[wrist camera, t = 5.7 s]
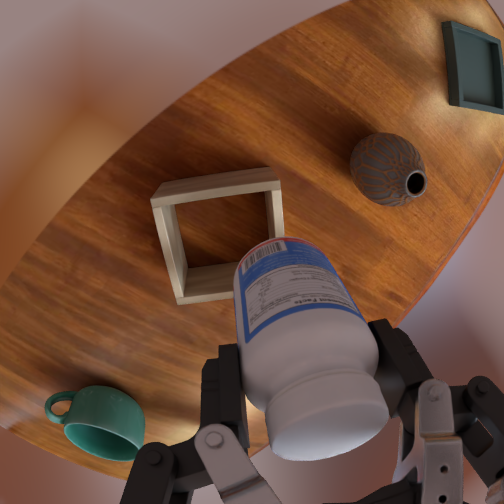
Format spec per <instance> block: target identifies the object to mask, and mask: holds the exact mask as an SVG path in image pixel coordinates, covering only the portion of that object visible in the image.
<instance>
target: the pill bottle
mask: <svg viewBox="0 0 504 504" xmlns="http://www.w3.org/2000/svg"><path fill="white" fill-rule="evenodd" d="M233 292H234V305H235V316H236V328H237V341H238V350H239V364H240V375H241V383H242V388H243V391H244V393H245V395H246V396H247V398H248V400H249V401H250V402H251V403H252V404H253V405H254V406H255V407H256V408H258V409H259V410H261V411H262V412H264V413H265V422H266V426H267V431H268V437H269V442H270V447H271V449H272V451H273V452H274V453H275V454H276V455H277V456H279V457H282V458H284V459H289V460H295V461H311V460H319V459H324V458H328V457H332V456H336V455H339V454H342V453H345V452H347V451H350V450H352V449H354V448H356V447H358V446H360V445H362V444H364V443H365V442H366V441H368V440H370V439H371V438H372V437H374V436H375V435H376V434H377V433H378V432H379V431H381V429H382V428H383V427H384V425H385V424H386V422H387V420H388V417H389V411H388V407H387V405H386V402H385V400H384V398H383V395H382V393H381V390H380V386H379V384H378V383H377V382H376V381H375V380H374V379H373V377H374V375H375V373H376V370H377V366H378V362H379V351H378V346H377V343H376V340H375V338H374V336H373V334H372V332H371V330H370V328H369V327H368V325H367V323H366V321H365V320H364V318H363V316H362V315H361V313H360V311H359V309H358V308H357V306H356V304H355V303H354V301H353V299H352V298H351V296H350V294H349V293H348V291H347V289H346V288H345V286H344V285H343V283H342V281H341V280H340V278H339V276H338V275H337V273H336V271H335V270H334V268H333V266H332V265H331V263H330V262H329V260H328V258H327V257H326V256H325V254H324V253H323V252H322V251H321V250H320V249H319V248H318V247H317V246H315V245H314V244H312V243H311V242H309V241H306V240H304V239H301V238H297V237H277V238H273V239H269V240H267V241H264V242H262V243H260V244H258V245H257V246H255V247H254V248H252V249H251V250H250V251H249V252H248V253H247V254H246V255H245V256H244V257H243V258H242V260H241V261H240V263H239V265H238V267H237V269H236V272H235V275H234V284H233Z"/></svg>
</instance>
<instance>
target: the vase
mask: <svg viewBox="0 0 504 504" xmlns="http://www.w3.org/2000/svg"><path fill="white" fill-rule="evenodd" d="M350 172H351V176H352V179H353V181H354V183H355V185H356V187H357V188H358V189H359V191H360V192H361V193H362V194H363V195H364V196H366V197H367V198H368V199H370V200H371V201H373V202H375V203H377V204H380V205H384V206H400V205H404V204H406V203H408V202H410V201H411V200H413V199H414V198H416V197H419V196H420V195H422V194H423V193H424V191H425V189H426V187H427V177H426V174H425V167H424V163H423V160H422V157H421V155H420V154H419V152H418V151H417V149H416V148H415V147H414V146H413V145H412V144H411V143H410V142H408V141H407V140H406V139H404V138H402V137H400V136H398V135H395V134H391V133H375V134H372V135H369V136H367V137H365V138H363V139H362V140H361V141H360V142H359V143H358V144H357V145H356V146H355V148H354V150H353V152H352V154H351V158H350Z"/></svg>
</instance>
